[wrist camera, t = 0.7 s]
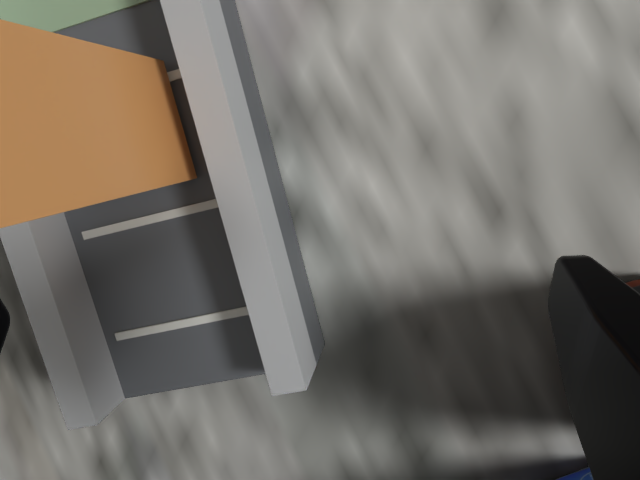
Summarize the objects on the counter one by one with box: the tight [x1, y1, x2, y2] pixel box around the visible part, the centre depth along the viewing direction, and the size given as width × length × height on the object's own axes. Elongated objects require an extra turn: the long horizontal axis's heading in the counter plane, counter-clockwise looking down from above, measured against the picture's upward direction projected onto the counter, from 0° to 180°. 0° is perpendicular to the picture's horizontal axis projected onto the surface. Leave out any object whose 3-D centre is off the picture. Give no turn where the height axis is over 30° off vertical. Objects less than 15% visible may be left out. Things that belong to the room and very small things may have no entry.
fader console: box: [0, 0, 325, 430], centre depth 20 cm, size 19×9×4 cm, turn 14°
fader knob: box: [0, 19, 197, 228], centre depth 14 cm, size 4×4×10 cm
